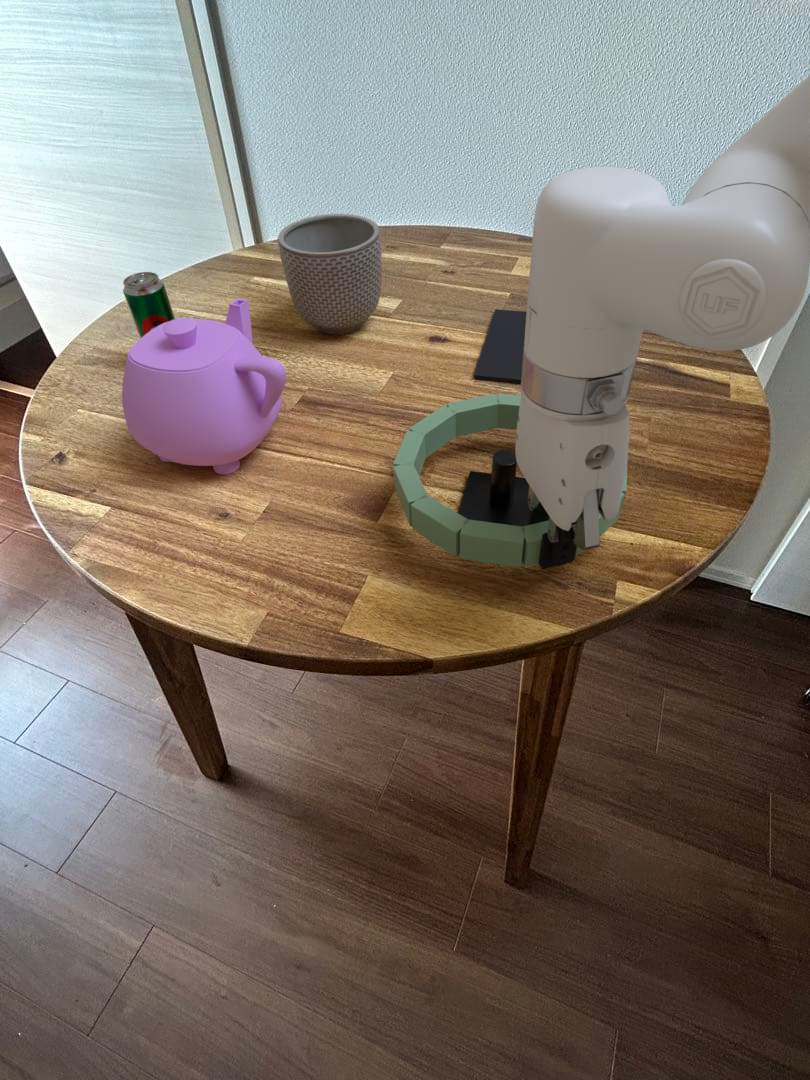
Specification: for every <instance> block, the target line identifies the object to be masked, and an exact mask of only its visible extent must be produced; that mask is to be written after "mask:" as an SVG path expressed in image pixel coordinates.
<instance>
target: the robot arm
mask: <svg viewBox="0 0 810 1080" xmlns="http://www.w3.org/2000/svg"><path fill="white" fill-rule="evenodd" d="M532 227H533V228H532V241H531V250H530V252H531V253H530V265H529V275H528V276H529V278H528V289H527V301H526V312H527V314H526V327H525V341H524V350H523V362H522V375H521V384H520V390H519V391H520V395H522V396H521V401H520V408H519V414H518V422H517V430H516V431H515V445H514V446H515V447H514V448H515V450H514V451H515V452H514V453H515V454H516V461H517V467H518V469H519V470H520V472H521V474H522V475H523V478H525V479H526V480H527V482H528V484H529V492H528V506H529V508H530V510H534V511H533V512H529V517H528V525H531V524H536V523H540V522H544V521H548V520H549V523H548V530H547V533H544V534H542V541H541V549H540V556H539V564H538V565H539V567H540V569H541V570H546V569H547V570H548V569H550V568H554V567H560V566H564V565H565V566H566V565H567V564H570V563H572V562H574V560H575V559H576V555H577V554H576V549H577V546H578V547H579V548H580V549H582V550H583V552H585V550H586V551H590V550H592V549H597V548H599V547H600V546H601V539H600V538H601V537H600V536H599V514H598V512H599V513H600V514H601V516H602V517H603V519H604V520H605V521H606V522H607V521H610V520H614V519H615V517H616V516H617V513H618V510H619V506H620V501H621V496H622V491H623V485H624V479H625V473H626V466H627V467H628V459H627V458H629V448H630V447H629V445H630V411H629V409H628V407H627V406H626V404H627V403H628V400H629V397H630V392H631V388H632V387H631V386H632V382H633V377H634V375H635V374H634V373H635V368H636V365H637V359H638V356H639V352H640V348H641V343H642V338H643V334H644V330H645V331H647V332H649V333H652V334H655V335H658V336H661V337H663V338H666V339H668V340H671V341H673V342H677V343H680V344H683V345H686V346H689V347H692V348H696V349H700V350H705V351H713V352H734V351H740V350H745V349H749V348H752V347H755V346H757V345H759V344H762V343H764V342H766V341H768V340H770V339H771V338H772V337H773V336H775V335H777V334H778V333H779V332H780V331H781V330H782V329H783V328H785V327H786V325H787V324H789V322H790V321H791V320H792V318H793V317H794V316H795V314H796V312H797V311H798V309H799V307H800V305H801V303H802V301H803V298H804V295H805V293H806V291H807V287H808V282H809V275H810V74H809V75H808V76H807V77H806V78H805V79H803V81H801V82H800V83H799V84H797V86H796V87H794V88H793V89H792V90H791V91H790V92H789V93H788V94H787V95H786V96H784V97H783V98H782V99H781V100H780V101H779V102H778V103H777V104H776V105H774V107H772V108H771V109H770V110H769V111H767V112H766V113H765V114H764V115H763V116H762V117H761V118H760V119H759V120H758V121H756V123H754V124H753V125H752V126H751V127H750V128H749V129H747V130H746V131H745V132H744V133H743V134H742V135H741V136H739V138H738V139H737V140H735V142H733V143H732V144H730V146H729V147H728V148H726V149H725V150H724V151H723V152H722V153H721V154H720V155H719V156H718V157H717V158H716V159H715V160H714V161H713V162H712V163H711V164H709V166H708V167H707V168H706V169H705V170H704V171H703V172H702V174H701V175H700V176H699V177H698V178H697V179H696V181H695V182H694V184H693V185H692V186H691V187H690V188H689V191H688V193H687V194H686V196H685V197H684V199H683V201H682V203H681V205H680V204H679V205H672V204H671V202H670V199H669V194H668V193H667V190H666V188H665V187H664V185H663V183H661V182H660V181H659V180H658V179H657V178H656V177H654V176H652V175H650V174H648V173H645V172H642V171H639V170H636V169H632V168H626V167H618V166H590V167H583V168H579V169H574V170H570V171H567V172H564V173H562V174H559V175H557V176H556V177H554V178H553V179H552V180H550V181H549V182H548V183H546V185H545V186H544V188H543V189H542V190H541V192H540V194H539V196H538V199H537V202H536V204H535V211H534V218H533V226H532ZM575 554H576V555H575Z"/></svg>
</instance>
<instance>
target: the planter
mask: <svg viewBox="0 0 810 1080" xmlns="http://www.w3.org/2000/svg"><path fill="white" fill-rule="evenodd" d="M382 246H383V245H382V233H381V229H380V227H379V225H378V224H377V223H376V221H373V220H372V219H370V218H367V217H364V216H361V215H355V214H349V213H329V214H319V215H314V216H309V217H305V218H302V219H299V220H296V221H294V222H292V223H290V224H288V225H287V226H285V227H284V228H283V229H282V230H281V231H280V232H279V233H278V236H277V248H278V253H279V256H280V261H281V265H282V269H283V271H284V272H283V273H284V277H285V280H286V283H287V287H288V291H289V295H290V297H291V300H292V303H293V306H294V307H295V310H296V311H297V313H298V315H299V316H300V317H301V318H302V319H303V320H305V321H306V322H308V323H309V324H310V325H313V326H315V327H316V328H317V329H318V330H319V331H320V332H322V333H324V334H328V335H345V334H350V333H353V332H354V331H357V330H358V329H360V328H361V327H362V326H363V324H364V322H366V320H367V319H369V318H370V317H371V316H372V315H373V314H374V312H375V311H376V309H377V308H378V306H379V304H380V303H379V302H380V298H381V293H382V291H381V290H382V273H383V270H382V269H383V268H382V265H383V263H382V260H383V259H382V251H383V250H382Z"/></svg>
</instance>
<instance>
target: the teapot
mask: <svg viewBox="0 0 810 1080" xmlns="http://www.w3.org/2000/svg"><path fill="white" fill-rule="evenodd" d="M286 381H287V372H286V369H285V366H284V365H283V364H282V362H281V361H279V360H278V359H275V358H272V357H267V356H263V354H262V353H261V352H260V351H259V350H258V349H257V347H256V346H255V345H254V343H253V333H252V322H251V312H250V301H249V299H243V298H239V297H237V298H236V299H234V300H233V301H231V302H230V303H229V304H228V311H227V316H226V318H225V322H221V321H218V320H212V319H205V318H204V319H203V318H191V317H178V318H175V319H174V320H171V321H169V322H166V323H163V324H161V325H159V326H157V327H155V328H154V329H152V330H151V331H149V332H148V333H147V334H146V335H144V336H143V337H142V338H141V339H140V338H139V339H138V340H137V341H136V342H135V343H134V344H133V345H132V347H131V348H130V349H129V351H128V353H127V357H126V361H125V365H124V371H123V378H122V387H121V389H122V390H121V401H122V402H121V403H122V409H123V415H124V419H125V423H126V426H127V429H128V432H129V434H130V436H131V437H132V438H133V439H134V440H135V442H136V443H138V444H139V445H140V446H141V447H143V448H144V449H146V450H147V451H149V452H150V453H153V454H155V455H156V456H159V459H160V460H161V462H162V461H163V462H165V463H172V462H173V463H176V464H181V465H187V466H195V467H196V466H198V467H200V466H201V467H208V466H209V467H211V466H212V468H213V471H214V472H215V473H217V474H219V475H229V474H232V473H234V472H236V471H237V470H238V469H239V468H240V465H241V462H240V460H241V459H243V458H245V457H246V456H248V455H249V454H250V453H251V452H253V451H254V450H255V449H256V448H257V447H258V446H259V445H261V443H262V442H263V441H264V440H265V438H266V437H267V436H268V434H269V433H270V432H271V429H272V428H273V426H274V424H275V423H276V421H277V419H278V417H279V415H280V412H281V410H282V405H283V403H282V402H283V397H282V393H283V392H284V389H285V387H286V383H287V382H286Z"/></svg>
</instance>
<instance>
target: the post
mask: <svg viewBox="0 0 810 1080" xmlns="http://www.w3.org/2000/svg"><path fill="white" fill-rule="evenodd" d="M517 467H518V464H517V461H516V453H515V452H514V451H512V450H509V449H501V450H497V451H495V452H494V453H493V455H492V462H491V473H490V472H483V471H482V472H481V471H475V470H470V471H469V474H468V477H467V480H466V484H465V488H464V491H463V495H462V498H461V501H460V505H459V509H458V511H457V513H458V514H460V515H461V516H463V517H465V518H466V519H468V520H476V521H483V522H491V523H498V524H506V525H513V526H521V527H523V526H527V525H528V517H529V512H533V511H534V510H530V508H529V506H528V492H529V484H528V482H527V480H526V479H525V477H520V476H517Z"/></svg>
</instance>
